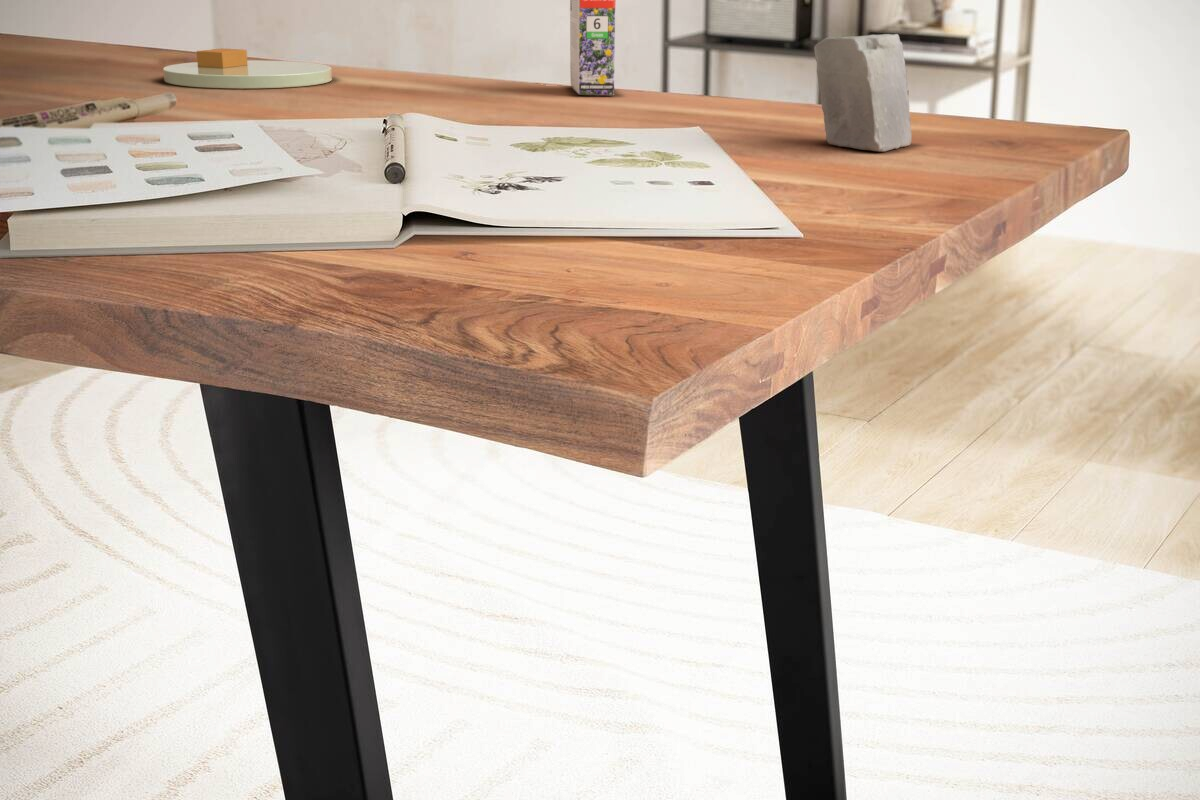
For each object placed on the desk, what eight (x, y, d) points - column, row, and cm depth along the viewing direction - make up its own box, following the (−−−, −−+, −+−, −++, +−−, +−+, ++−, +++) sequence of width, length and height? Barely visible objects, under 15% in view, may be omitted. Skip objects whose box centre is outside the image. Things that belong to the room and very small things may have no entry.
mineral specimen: (924, 129, 95) (933, 21, 91) (890, 170, 89) (898, 55, 85) (829, 118, 98) (834, 13, 94) (789, 157, 92) (793, 45, 88)
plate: (131, 84, 120) (130, 71, 119) (212, 70, 135) (211, 58, 134) (292, 91, 117) (291, 78, 117) (355, 75, 132) (355, 63, 132)
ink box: (605, 87, 126) (608, -71, 121) (616, 96, 118) (619, -72, 114) (568, 87, 125) (569, -72, 120) (576, 96, 118) (578, -73, 113)
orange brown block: (197, 66, 125) (196, 51, 125) (222, 63, 129) (221, 48, 128) (223, 68, 124) (221, 52, 124) (247, 65, 128) (246, 49, 127)
